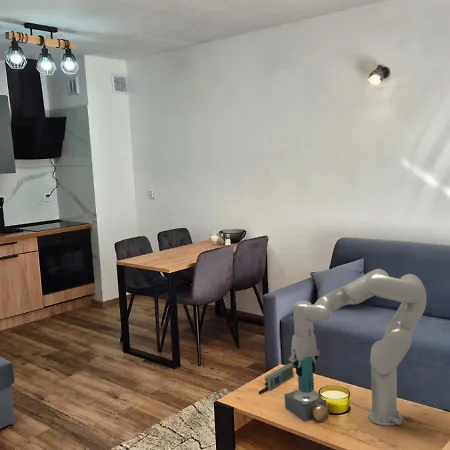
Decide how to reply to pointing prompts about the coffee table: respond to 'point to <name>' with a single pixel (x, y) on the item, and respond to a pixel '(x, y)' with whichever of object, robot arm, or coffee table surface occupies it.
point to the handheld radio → (278, 377)
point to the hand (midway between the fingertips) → (305, 373)
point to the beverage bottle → (306, 376)
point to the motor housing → (306, 405)
